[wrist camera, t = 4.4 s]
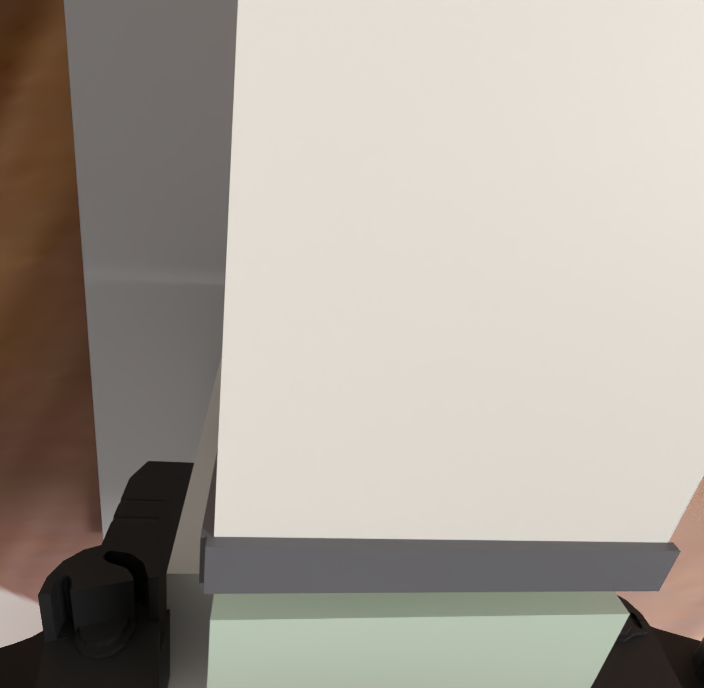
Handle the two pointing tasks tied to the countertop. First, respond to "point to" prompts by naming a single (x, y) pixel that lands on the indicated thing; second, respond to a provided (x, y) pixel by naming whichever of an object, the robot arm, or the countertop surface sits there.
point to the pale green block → (412, 639)
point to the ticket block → (400, 282)
